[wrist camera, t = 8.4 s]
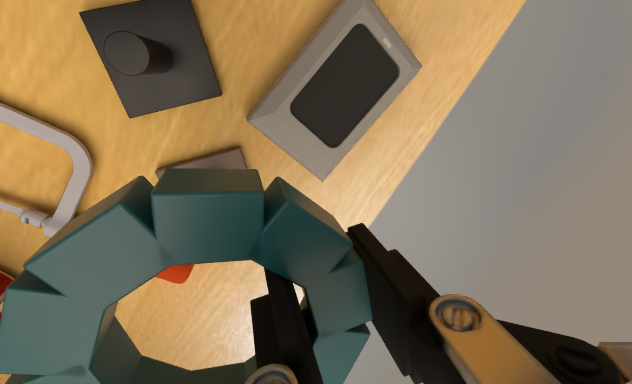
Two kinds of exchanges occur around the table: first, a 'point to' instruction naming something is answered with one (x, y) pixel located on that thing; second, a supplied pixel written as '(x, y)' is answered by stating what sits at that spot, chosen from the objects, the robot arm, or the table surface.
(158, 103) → the black post
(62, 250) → the ring
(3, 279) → the soda can
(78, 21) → the table surface
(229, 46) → the table surface
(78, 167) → the hand saw
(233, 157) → the brown peg stand
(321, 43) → the grey flat block
